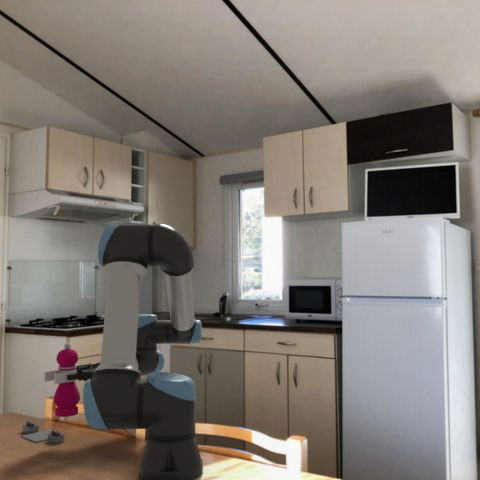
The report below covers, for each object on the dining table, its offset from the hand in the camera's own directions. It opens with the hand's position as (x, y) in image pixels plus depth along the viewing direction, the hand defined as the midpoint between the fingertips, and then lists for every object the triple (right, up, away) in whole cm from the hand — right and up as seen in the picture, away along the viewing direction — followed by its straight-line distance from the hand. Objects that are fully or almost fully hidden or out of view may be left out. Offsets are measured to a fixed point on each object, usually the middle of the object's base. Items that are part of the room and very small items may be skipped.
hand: (50, 377), depth 155 cm
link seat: (-6, -20, +10) cm, 23 cm away
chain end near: (0, -20, +5) cm, 20 cm away
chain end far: (-11, -20, +15) cm, 28 cm away
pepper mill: (+4, -11, +3) cm, 12 cm away
